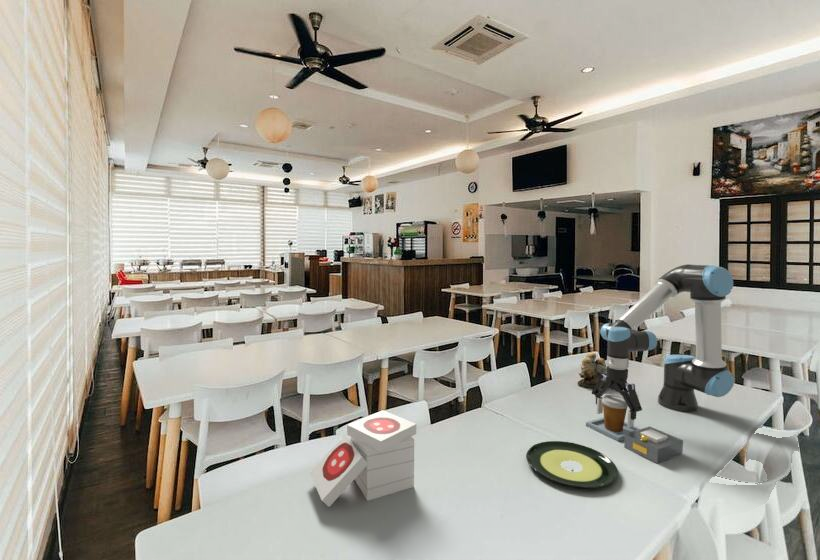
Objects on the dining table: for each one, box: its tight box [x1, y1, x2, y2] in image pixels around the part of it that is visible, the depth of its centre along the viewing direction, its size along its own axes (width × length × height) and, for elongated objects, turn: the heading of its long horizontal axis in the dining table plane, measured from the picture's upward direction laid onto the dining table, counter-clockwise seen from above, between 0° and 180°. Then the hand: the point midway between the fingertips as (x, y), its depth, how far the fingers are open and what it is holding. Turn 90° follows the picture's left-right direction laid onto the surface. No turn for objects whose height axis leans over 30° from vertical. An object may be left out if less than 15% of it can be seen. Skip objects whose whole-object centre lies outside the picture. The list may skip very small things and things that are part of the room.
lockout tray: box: [585, 416, 641, 442], centre depth 159 cm, size 14×14×2 cm
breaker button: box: [640, 429, 668, 443], centre depth 143 cm, size 6×6×6 cm
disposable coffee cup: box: [602, 394, 629, 432], centre depth 159 cm, size 10×10×12 cm
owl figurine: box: [577, 352, 607, 390], centre depth 209 cm, size 18×12×17 cm, turn 114°
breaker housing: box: [623, 426, 684, 464], centre depth 143 cm, size 14×12×7 cm
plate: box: [525, 440, 619, 489], centre depth 132 cm, size 28×28×2 cm
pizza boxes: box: [309, 409, 417, 508], centre depth 121 cm, size 19×30×18 cm, turn 117°
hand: (614, 419), depth 159 cm, fingers open, 13 cm apart
